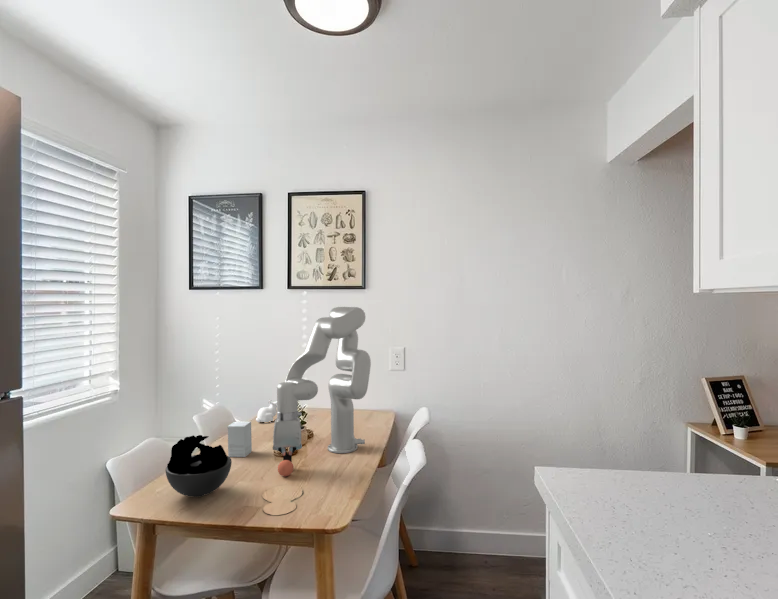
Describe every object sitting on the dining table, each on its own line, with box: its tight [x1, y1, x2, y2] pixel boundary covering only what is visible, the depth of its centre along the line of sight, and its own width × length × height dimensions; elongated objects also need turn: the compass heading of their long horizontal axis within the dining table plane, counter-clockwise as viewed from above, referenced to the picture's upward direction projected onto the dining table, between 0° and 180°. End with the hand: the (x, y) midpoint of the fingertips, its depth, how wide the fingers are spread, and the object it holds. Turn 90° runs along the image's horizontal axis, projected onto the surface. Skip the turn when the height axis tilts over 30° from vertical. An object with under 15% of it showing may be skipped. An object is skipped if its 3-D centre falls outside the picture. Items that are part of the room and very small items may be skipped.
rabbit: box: [255, 398, 277, 423], centre depth 238 cm, size 12×9×12 cm
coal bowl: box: [165, 434, 233, 498], centre depth 151 cm, size 20×20×19 cm
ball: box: [277, 459, 294, 477], centre depth 166 cm, size 6×6×6 cm
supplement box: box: [227, 421, 253, 458], centre depth 189 cm, size 7×7×13 cm
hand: (287, 464), depth 172 cm, fingers closed
